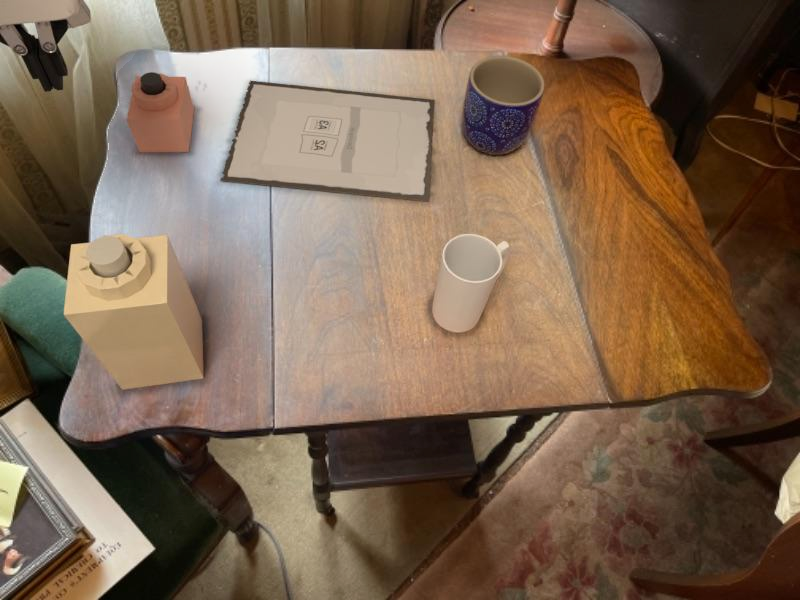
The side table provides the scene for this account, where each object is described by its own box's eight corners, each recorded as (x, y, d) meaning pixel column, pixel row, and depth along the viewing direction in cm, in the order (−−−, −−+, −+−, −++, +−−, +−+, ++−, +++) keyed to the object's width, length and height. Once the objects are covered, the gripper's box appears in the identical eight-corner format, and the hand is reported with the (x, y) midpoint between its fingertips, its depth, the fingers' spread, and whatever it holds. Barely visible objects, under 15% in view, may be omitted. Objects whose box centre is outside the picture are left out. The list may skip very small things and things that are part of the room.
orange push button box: (139, 152, 88) (122, 109, 81) (147, 110, 93) (131, 65, 86) (188, 152, 89) (176, 109, 82) (194, 110, 94) (182, 65, 87)
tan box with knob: (122, 389, 69) (54, 303, 53) (125, 329, 73) (62, 231, 57) (203, 378, 70) (161, 291, 54) (202, 319, 75) (162, 221, 58)
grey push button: (92, 279, 55) (84, 266, 53) (95, 251, 57) (87, 237, 55) (129, 275, 55) (122, 262, 54) (131, 247, 57) (124, 234, 55)
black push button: (142, 95, 84) (138, 85, 82) (145, 82, 85) (141, 71, 83) (163, 96, 84) (160, 85, 82) (165, 82, 85) (162, 72, 84)
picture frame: (220, 181, 86) (429, 202, 87) (219, 179, 86) (429, 200, 87) (249, 81, 98) (434, 100, 99) (249, 79, 97) (434, 98, 98)
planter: (443, 126, 96) (454, 66, 86) (500, 106, 99) (516, 47, 90) (481, 172, 91) (497, 114, 82) (539, 150, 95) (561, 92, 85)
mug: (450, 344, 75) (467, 292, 65) (419, 305, 78) (430, 249, 68) (511, 307, 79) (536, 252, 69) (479, 271, 82) (498, 213, 71)
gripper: (66, -159, 47) (132, 50, 62) (-158, -154, 44) (-30, 66, 59) (67, -113, 43) (138, 97, 59) (-177, -103, 40) (-35, 117, 55)
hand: (54, 81), depth 59 cm, fingers closed
